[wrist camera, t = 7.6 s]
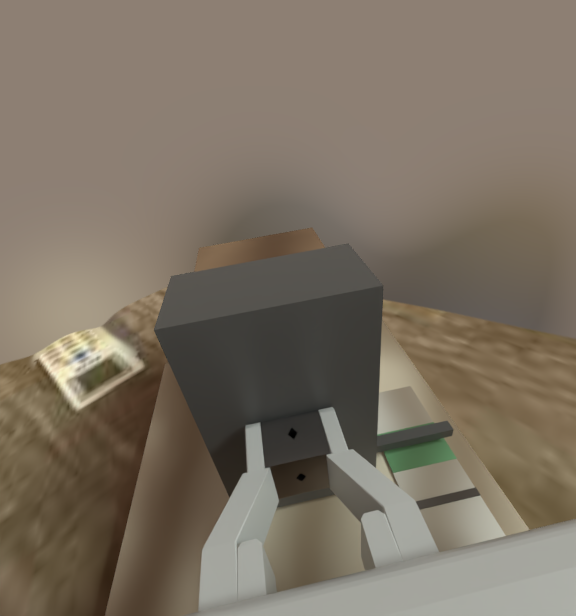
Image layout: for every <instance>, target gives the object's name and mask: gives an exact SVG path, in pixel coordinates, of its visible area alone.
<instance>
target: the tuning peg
mask: <svg viewBox="0 0 576 616" xmlns="http://www.w3.org/2000/svg"><path fill="white" fill-rule="evenodd" d="M382 306H383V285H382V283H381V282H380V281H379V280H378V279H377V277H376V276H375V275H374V274H373V273H372V272H371V270H370V269H369V268H368V267H367V266H366V264H365V263H364V262H363V261H362V259H361V258H360V257H359V256H358V255H357V254H356V252H355V251H354V250H353V249H352V247H351V246H350V245H349V244H343V245H338V246H332V247H327V248H321V249H316V250H310V251H305V252H300V253H294V254H289V255H283V256H278V257H273V258H267V259H262V260H256V261H251V262H245V263H240V264H235V265H229V266H224V267H218V268H213V269H207V270H202V271H197V272H192V273H186V274H180V275H175V276H171V279H170V282H169V285H168V288H167V291H166V294H165V297H164V300H163V303H162V306H161V310H160V313H159V316H158V319H157V322H156V325H155V328H154V331H155V333H156V336H157V338H158V340H159V342H160V344H161V347H162V349H163V351H164V353H165V356H166V358H167V360H168V362H169V364H170V367H171V369H172V371H173V373H174V376H175V378H176V380H177V382H178V384H179V387H180V389H181V391H182V393H183V396H184V398H185V400H186V402H187V404H188V407H189V409H190V411H191V413H192V416H193V418H194V420H195V422H196V424H197V427H198V429H199V431H200V433H201V436H202V438H203V440H204V442H205V444H206V447H207V449H208V451H209V453H210V456H211V458H212V460H213V462H214V464H215V467H216V469H217V471H218V473H219V476H220V478H221V480H222V482H223V484H224V487H225V489H226V491H227V493H228V496H229V498H230V496H231V494H232V492H233V491H234V489H235V487H236V485H237V483H238V481H239V479H240V477H241V475H242V474H243V473H247V464H246V444H245V426H246V425H249V424H254V423H259V422H264V421H270V420H275V419H280V418H286V417H289V416H292V415H296V414H301V413H305V412H310V411H314V410H320V409H325V408H329V407H333V408H334V410H335V413H336V416H337V418H338V421H339V424H340V427H341V430H342V433H343V436H344V439H345V442H346V444H347V447H348V450H351V449H353V450H355V451H356V452H357V453H358V454H359V455H361V456H362V457H363V458H364V459H365V460H367V461H368V462H369V463H370V464H372V465H373V466H374V467H375V468H376V456H377V453H378V452H383V451H387V450H392V449H396V448H401V447H405V446H410V445H414V444H419V443H423V442H428V441H432V440H436V439H441V438H445V437H450V436H452V434H453V430H454V429H453V428H452V426H451V425H450V423H449V422H448V420H447V421H443V422H438V423H434V424H429V425H425V426H420V427H416V428H411V429H407V430H402V431H398V432H393V433H389V434H384V435H380V436H377V431H378V406H379V381H380V356H381V331H382ZM330 495H335V494H334V493H333V492H332V490H331V489H330V488H325V489H320V490H315V491H310V492H305V493H301V494H297V495H293V496H289V497H285V498H281V499H279V503H278V505H277V508H278V507H282V506H287V505H291V504H296V503H300V502H304V501H309V500H313V499H317V498H322V497H326V496H330Z"/></svg>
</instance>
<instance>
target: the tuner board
mask: <svg viewBox="0 0 576 616" xmlns="http://www.w3.org/2000/svg"><path fill="white" fill-rule="evenodd" d="M321 248H325V247H324V245H323V243H322V242H321V241H320V239H319V238H318V236H317V234H316V233H315V231H314V230H313V228H307V229H302V230H296V231H290V232H285V233H279V234H274V235H268V236H263V237H257V238H252V239H246V240H241V241H235V242H229V243H224V244H218V245H213V246H207V247H202V248H199V251H198V256H197V261H196V266H195V271H194V272H197V271H202V270H207V269H213V268H218V267H224V266H229V265H235V264H240V263H245V262H251V261H256V260H262V259H267V258H273V257H278V256H283V255H289V254H294V253H300V252H305V251H310V250H316V249H321ZM447 420H448V422H449V423H450V425H451V426H452V428H453V429H454V430H453V434H452V436H450V437H445V438H441V439H436V440H432V441H428V442H423V443H419V444H414V445H410V446H405V447H401V448H396V449H392V450H387V451H383V452H378V453H377V456H376V469H378V470H379V471H380V472H381V473H382V474H384V475H385V476H386V477H387V478H389V479H390V480H391V481H392V482H393V483H395V484H396V485H397V486H398V487H399V488H401V489H402V490H403V491H404V492H406V493H407V494H408V495H409V496H410V497H412V498H413V499H414V500H415V501H416V503H417V506H418V508H419V510H420V512H421V514H422V516H423V518H424V521H425V523H426V525H427V527H428V529H429V531H430V533H431V536H432V538H433V540H434V542H435V544H436V546H437V548H438V550H439V552H442V551H446V550H450V549H454V548H459V547H463V546H467V545H471V544H475V543H479V542H483V541H487V540H491V539H495V538H499V537H503V536H507V535H511V534H515V533H519V532H523V531H528V530H529V528H528V527H527V526H526V524H525V523H524V521H523V520H522V518H521V517H520V516H519V514H518V513H517V511H516V510H515V508H514V507H513V506H512V504H511V503H510V501H509V500H508V498H507V497H506V496H505V494H504V493H503V491H502V490H501V488H500V487H499V486H498V484H497V483H496V481H495V480H494V478H493V477H492V476H491V474H490V473H489V471H488V470H487V468H486V467H485V466H484V464H483V463H482V461H481V460H480V458H479V457H478V456H477V454H476V453H475V451H474V450H473V448H472V447H471V446H470V444H469V443H468V441H467V440H466V438H465V437H464V436H463V434H462V433H461V431H460V430H459V429H458V427H457V426H456V424H455V423H454V421H453V420H452V419H451V417H450V416H449V414H448V413H447V411H446V410H445V409H444V407H443V406H442V404H441V403H440V401H439V400H438V399H437V397H436V396H435V394H434V393H433V391H432V390H431V389H430V387H429V386H428V384H427V383H426V381H425V380H424V379H423V377H422V376H421V374H420V373H419V371H418V370H417V369H416V367H415V366H414V364H413V363H412V361H411V360H410V359H409V357H408V356H407V354H406V353H405V351H404V350H403V349H402V347H401V346H400V344H399V343H398V341H397V340H396V339H395V337H394V336H393V334H392V333H391V331H390V330H389V329H388V327H387V326H386V324H385V323H384V321H383V320H382V331H381V356H380V381H379V406H378V431H377V436H380V435H384V434H389V433H393V432H398V431H402V430H407V429H411V428H416V427H420V426H425V425H429V424H434V423H438V422H443V421H447ZM228 500H229V496H228V493H227V491H226V489H225V487H224V484H223V482H222V480H221V478H220V476H219V473H218V471H217V469H216V467H215V464H214V462H213V460H212V458H211V456H210V453H209V451H208V449H207V447H206V444H205V442H204V440H203V438H202V436H201V433H200V431H199V429H198V427H197V424H196V422H195V420H194V418H193V416H192V413H191V411H190V409H189V407H188V404H187V402H186V400H185V398H184V396H183V393H182V391H181V389H180V387H179V384H178V382H177V380H176V378H175V376H174V373H173V371H172V369H171V367H170V364H169V362H168V363H165V366H164V370H163V375H162V379H161V383H160V387H159V391H158V396H157V400H156V404H155V408H154V412H153V416H152V421H151V425H150V429H149V433H148V437H147V441H146V446H145V450H144V454H143V458H142V462H141V467H140V471H139V475H138V479H137V483H136V487H135V492H134V496H133V500H132V504H131V508H130V512H129V517H128V521H127V525H126V529H125V533H124V538H123V542H122V546H121V550H120V554H119V558H118V563H117V567H116V571H115V575H114V579H113V584H112V588H111V592H110V596H109V600H108V604H107V609H106V613H105V616H183V615H187V614H191V613H195V612H198V608H199V592H200V576H201V560H202V549H203V547H204V545H205V543H206V541H207V540H208V538H209V536H210V534H211V532H212V530H213V528H214V526H215V524H216V523H217V521H218V519H219V517H220V515H221V513H222V511H223V509H224V508H225V506H226V504H227V502H228ZM263 547H264V549H265V552H266V555H267V557H268V560H269V562H270V565H271V567H272V570H273V573H274V575H275V579H276V588H277V592H280V591H284V590H288V589H292V588H296V587H300V586H304V585H308V584H312V583H316V582H320V581H325V580H329V579H333V578H337V577H341V576H345V575H349V574H353V573H357V572H361V571H365V568H364V565H363V561H362V558H361V523H360V522H359V520H358V519H357V518H356V517H355V516H354V515H353V514H352V513H351V512H350V510H349V509H348V508H347V507H346V506H345V505H344V504H343V503H342V502H341V500H340V499H339V498H338V497H337V496H336V495H330V496H326V497H322V498H317V499H313V500H309V501H304V502H300V503H296V504H291V505H287V506H282V507H278V508H276V511H275V514H274V517H273V520H272V522H271V525H270V528H269V531H268V534H267V537H266V539H265V542H264V545H263Z"/></svg>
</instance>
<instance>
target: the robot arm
mask: <svg viewBox="0 0 576 616" xmlns="http://www.w3.org/2000/svg"><path fill="white" fill-rule="evenodd" d="M245 444H246V464H247V473H243V474H242V475H241V477H240V479H239V481H238V483H237V485H236V487H235V489H234V491H233V492H232V494H231V496H230V498H229V500H228V502H227V504H226V506H225V508H224V509H223V511H222V513H221V515H220V517H219V519H218V521H217V523H216V524H215V526H214V528H213V530H212V532H211V534H210V536H209V538H208V540H207V541H206V543H205V545H204V547H203V549H202V560H201V576H200V592H199V608H198V612H195V613H191V614H187V615H183V616H576V519H572V520H568V521H564V522H560V523H556V524H552V525H548V526H544V527H540V528H536V529H532V530H528V531H523V532H519V533H515V534H511V535H507V536H503V537H499V538H495V539H491V540H487V541H483V542H479V543H475V544H471V545H467V546H463V547H459V548H454V549H450V550H446V551H442V552H439V550H438V548H437V546H436V544H435V542H434V540H433V538H432V536H431V533H430V531H429V529H428V527H427V525H426V523H425V521H424V518H423V516H422V514H421V512H420V510H419V508H418V506H417V503H416V501H415V500H414V499H413V498H412V497H410V496H409V495H408V494H407V493H406V492H404V491H403V490H402V489H401V488H399V487H398V486H397V485H396V484H395V483H393V482H392V481H391V480H390V479H389V478H387V477H386V476H385V475H384V474H382V473H381V472H380V471H379V470H378V469H376V468H375V467H374V466H373V465H372V464H370V463H369V462H368V461H367V460H365V459H364V458H363V457H362V456H361V455H359V454H358V453H357V452H356V451H355V450H353V449H351V450H348V447H347V444H346V442H345V439H344V436H343V433H342V430H341V427H340V424H339V421H338V418H337V416H336V413H335V410H334V408H333V407H329V408H325V409H320V410H314V411H310V412H305V413H301V414H296V415H292V416H289V417H286V418H280V419H275V420H270V421H264V422H259V423H254V424H249V425H246V426H245ZM325 488H330V489H331V490H332V492H333V493H334V494H335V495H336V496H337V497H338V498H339V499H340V500H341V502H342V503H343V504H344V505H345V506H346V507H347V508H348V509H349V510H350V512H351V513H352V514H353V515H354V516H355V517H356V518H357V519H358V520H359V522H360V523H361V558H362V561H363V565H364V568H365V571H361V572H357V573H353V574H349V575H345V576H341V577H337V578H333V579H329V580H325V581H320V582H316V583H312V584H308V585H304V586H300V587H296V588H292V589H288V590H284V591H280V592H277V588H276V579H275V575H274V573H273V570H272V567H271V565H270V562H269V560H268V557H267V555H266V552H265V549H264V547H263V545H264V542H265V539H266V537H267V534H268V531H269V528H270V525H271V522H272V520H273V517H274V514H275V511H276V508H277V505H278V503H279V499H281V498H285V497H289V496H293V495H297V494H301V493H305V492H310V491H315V490H320V489H325Z"/></svg>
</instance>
